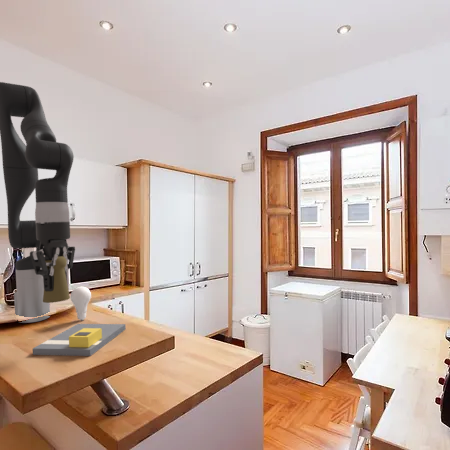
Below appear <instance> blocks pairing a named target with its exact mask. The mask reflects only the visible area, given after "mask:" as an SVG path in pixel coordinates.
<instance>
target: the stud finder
mask: <svg viewBox="0 0 450 450" xmlns="http://www.w3.org/2000/svg"><path fill="white" fill-rule="evenodd" d="M101 338H102V328H83V329H81V330H80V331H78V332H76V333H74V334H73V335H71V336H69V347H88V348H89V347H90V346H91V345H93V344H94V343H96V342H97V341H98V340H100V339H101Z"/></svg>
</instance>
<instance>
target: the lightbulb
mask: <svg viewBox="0 0 450 450" xmlns="http://www.w3.org/2000/svg"><path fill="white" fill-rule="evenodd" d="M91 299H92V292H91V291H90V289H89V288H88V287H85V286H83V285H82V286H81V285H80V286H78V287H76V288H74V289H73V290H72V291H71V293H70V301H71V303H72V305H74V308H75V313H76V315H77V320H79V321H84V320H85V319H86V318H87V312H88V304H89V303H90V301H91Z"/></svg>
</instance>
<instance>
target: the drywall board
mask: <svg viewBox="0 0 450 450" xmlns="http://www.w3.org/2000/svg"><path fill="white" fill-rule="evenodd" d="M83 328H102V338H101V339H100V340H98V341H97V342H96V343H94V344H93V345H91V346H90V347H89V348H88V347H69V336H71V335H73V334H74V333H76V332H78V331H80V330H81V329H83ZM125 330H126V323H76V324H75V325H73V326H71V327H70V328H69V327H68V329H66V330H64V331H62V332H61V333H59V334H57V335H54V336H53V337H52V338H49V339H47V340H45V341H44V342H42V343H40V344H38V345H36V346H35V347H33V348H32V355H34V356H37V355H39V356H70V357H71V356H73V357H74V356H76V357H77V356H78V357H81V356H82V357H91V356H92V355H94V354H95V353H96V352H98V351H100V349H102V348H103V347H104V346H106V345H107V344H108V343H109V342H111V341H113V339H114V338H116V337H118V336H119V335H121V333H123V332H124V331H125Z"/></svg>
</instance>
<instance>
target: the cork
mask: <svg viewBox="0 0 450 450" xmlns="http://www.w3.org/2000/svg"><path fill="white" fill-rule="evenodd" d="M45 262H46V263H51V262H52V260H47V261H46V260H45ZM66 264H68V262H67V261H66V258H65V257H63V256H58V258H57V260H56V265H55V266H54V274H53V276H54V290H53V291H45V290H44V294H43V302H45V303H50V304H51V303H52V304H53V303H59V302H60V303H61V302H64V301H68V300H71V298H70V296H71V294H70V290H69V286H68V279H67V280H66V274H65V269H64V268H65V267H66ZM47 269H48V270H49V266H47Z"/></svg>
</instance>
